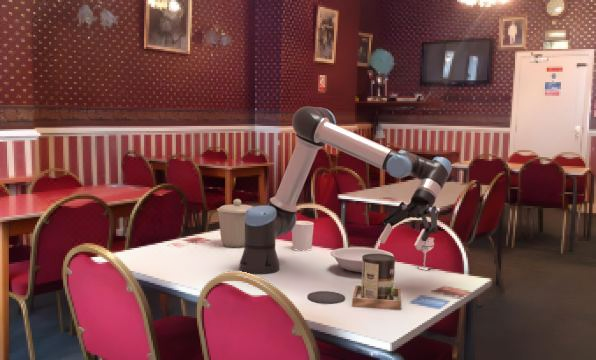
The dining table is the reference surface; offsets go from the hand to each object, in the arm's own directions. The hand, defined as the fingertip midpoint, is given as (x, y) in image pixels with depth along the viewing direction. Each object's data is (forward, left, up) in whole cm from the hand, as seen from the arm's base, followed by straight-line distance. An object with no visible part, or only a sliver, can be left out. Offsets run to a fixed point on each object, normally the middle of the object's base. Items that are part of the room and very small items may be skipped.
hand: (398, 244), depth 187 cm
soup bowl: (-13, +30, -17) cm, 37 cm away
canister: (-71, +62, -17) cm, 96 cm away
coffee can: (-6, -8, -17) cm, 20 cm away
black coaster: (-22, -9, -17) cm, 29 cm away
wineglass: (+11, +40, -17) cm, 45 cm away
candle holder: (-41, +62, -17) cm, 76 cm away
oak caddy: (-6, -8, -17) cm, 20 cm away
